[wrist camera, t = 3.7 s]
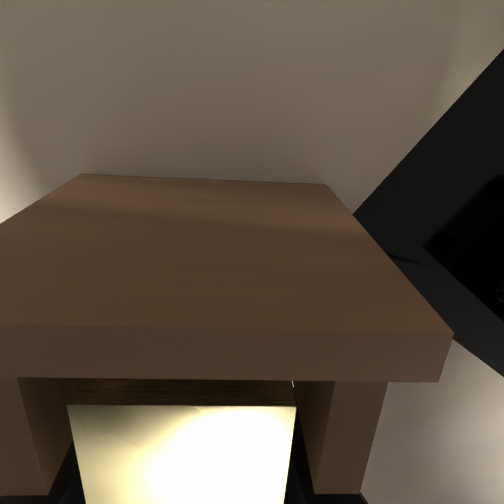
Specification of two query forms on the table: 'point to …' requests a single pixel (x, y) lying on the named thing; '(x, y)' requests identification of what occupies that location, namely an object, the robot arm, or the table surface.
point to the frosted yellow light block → (183, 440)
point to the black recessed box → (453, 216)
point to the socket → (203, 311)
